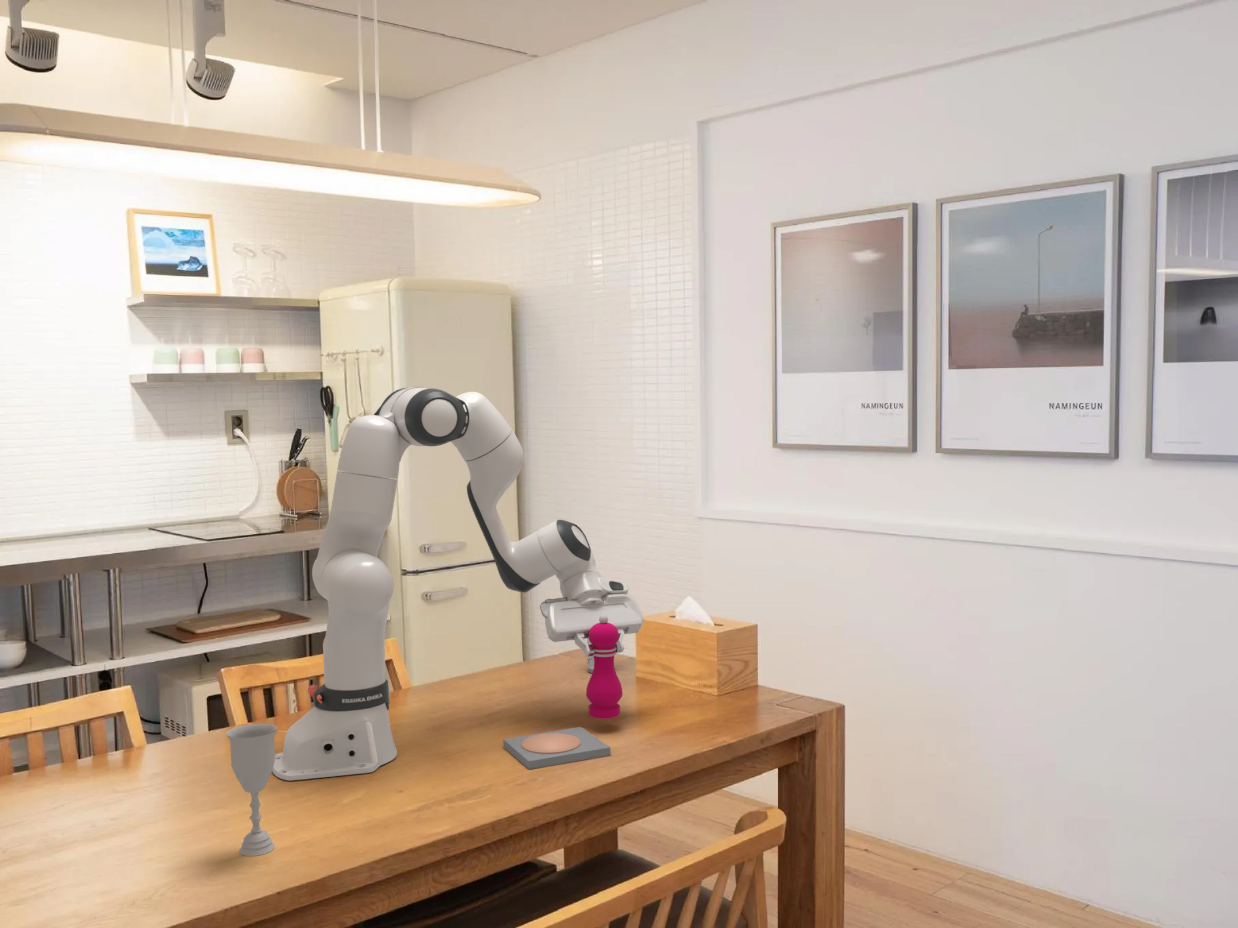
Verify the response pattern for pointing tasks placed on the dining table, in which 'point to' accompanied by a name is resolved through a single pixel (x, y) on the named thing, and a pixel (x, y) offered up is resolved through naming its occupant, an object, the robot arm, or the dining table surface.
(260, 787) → the chalice
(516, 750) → the mount board
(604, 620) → the pepper mill
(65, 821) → the dining table surface
